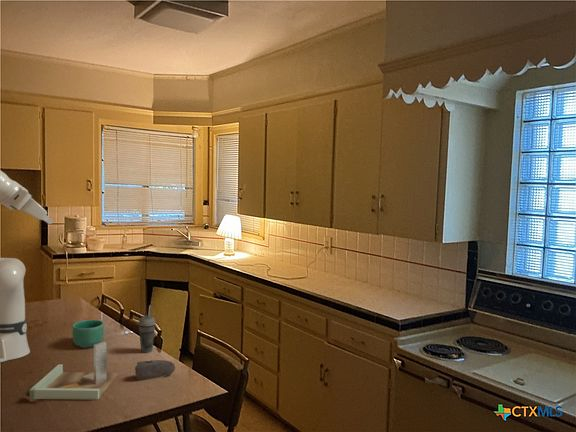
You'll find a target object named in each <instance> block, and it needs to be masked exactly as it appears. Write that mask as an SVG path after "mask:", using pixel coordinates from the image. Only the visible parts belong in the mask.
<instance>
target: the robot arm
mask: <svg viewBox="0 0 576 432" xmlns="http://www.w3.org/2000/svg"><path fill="white" fill-rule="evenodd" d="M32 196H33V195H31V194H30V193H29V190H28V189H27V188H25V187H23V185H21V184H20V183H19V182H17V181H15V180H13V179H11V178H10V177H9V176H8V175H7V174H6V172H3V171H2V170H1V169H0V204H1V205H2V206H4V207H5V208H7V209H9V210H10V211H11V210H16V211H21V212H24V213H25V214H28V215H30V216H31V217H33V218H35V219H37V220H38V221H44V222H45V223H46V224H48V225H51V224H52V223H53V222H54V219H51V218H50V217H49V216H48V212H47V210H46V209H45V208H44V207H43V206H42V205H40V203H38V202H37V201H36V200H35V199H34V198H32ZM26 271H27V269H26V266H25V264H24V263H23V261H21V260H20V259H18V258H15V257H0V363H2V362H6V361H10V360H16V359H19V358H22V357H23V358H24V357H26V356H27V355H29V354H30V352H31V350H30V347H29V346H30V345H29V343H28V338H27V329H28V327H27V326H28V325H27V318H26V299H25V288H24V279H25V278H24V277H25V275H26Z"/></svg>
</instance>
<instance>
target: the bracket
mask: <svg viewBox="0 0 576 432" xmlns="http://www.w3.org/2000/svg"><path fill="white" fill-rule="evenodd" d="M107 350H108V349H107V341H101V342H100V343H98V344H95V345H94V347H93V372H89V373H90V374H87V375H85V376H83V380H85V381H88V382H91V383H94V384H98V383H100V382H103V381H105V380H107V373H108V372H107V371H108V370H107V367H108V365H107V363H108V362H107V361H108V359H107V357H108V356H107Z"/></svg>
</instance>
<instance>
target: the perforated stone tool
mask: <svg viewBox="0 0 576 432" xmlns="http://www.w3.org/2000/svg"><path fill="white" fill-rule="evenodd" d="M134 370H135V371H134V374H135V377H136V380H137V381H143V380H150V379H156V378H161V377H163V378H165V377H167V376H168V377H169V376H170V375H171V374H173V373H174V372H175V370H176V365H175V363H173V362H172V361H171V360H165V359H152V360H144V361H143V360H142V361H137V362H136V366H135V367H134Z"/></svg>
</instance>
